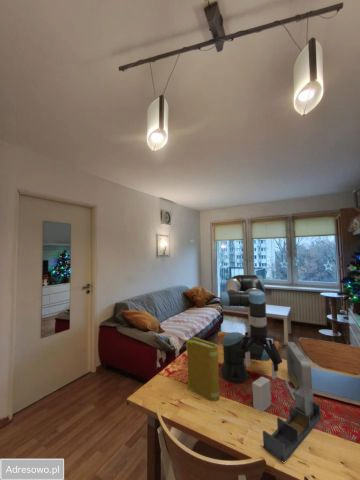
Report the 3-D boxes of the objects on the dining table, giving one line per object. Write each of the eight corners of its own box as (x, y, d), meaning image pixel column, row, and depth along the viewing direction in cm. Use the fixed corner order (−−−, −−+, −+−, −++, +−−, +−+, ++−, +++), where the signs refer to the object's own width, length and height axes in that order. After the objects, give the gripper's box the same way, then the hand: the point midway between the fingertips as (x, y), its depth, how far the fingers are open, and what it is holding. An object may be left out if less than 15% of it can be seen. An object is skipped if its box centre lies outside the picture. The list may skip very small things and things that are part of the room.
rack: (263, 447, 78) (261, 414, 79) (301, 408, 97) (300, 382, 97) (284, 463, 72) (282, 427, 73) (320, 418, 91) (318, 390, 91)
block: (253, 407, 98) (252, 382, 99) (263, 400, 103) (262, 376, 104) (261, 412, 95) (260, 386, 96) (271, 404, 100) (269, 380, 101)
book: (187, 389, 113) (186, 340, 115) (195, 383, 118) (194, 336, 120) (214, 403, 102) (212, 349, 103) (222, 396, 106) (220, 344, 108)
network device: (319, 411, 95) (316, 364, 96) (297, 409, 97) (295, 363, 98) (299, 378, 120) (297, 341, 121) (282, 376, 122) (280, 340, 123)
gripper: (232, 320, 109) (234, 363, 108) (279, 334, 89) (282, 387, 88) (241, 317, 114) (243, 359, 112) (288, 329, 94) (291, 380, 92)
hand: (260, 371), depth 100 cm, fingers open, 13 cm apart
